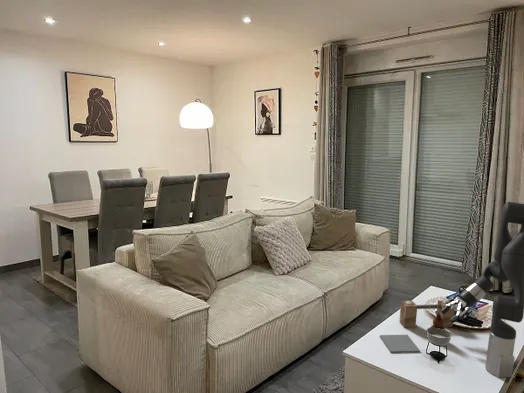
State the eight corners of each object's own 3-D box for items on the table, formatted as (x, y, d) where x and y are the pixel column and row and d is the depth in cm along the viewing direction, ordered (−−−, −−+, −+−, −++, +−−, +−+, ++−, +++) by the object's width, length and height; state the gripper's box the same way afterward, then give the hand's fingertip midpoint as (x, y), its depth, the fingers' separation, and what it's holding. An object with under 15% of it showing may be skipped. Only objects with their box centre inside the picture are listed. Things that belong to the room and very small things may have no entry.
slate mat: (420, 352, 179) (420, 350, 179) (390, 352, 178) (390, 351, 178) (407, 336, 193) (407, 334, 193) (379, 336, 192) (379, 335, 192)
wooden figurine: (434, 344, 187) (437, 315, 184) (426, 337, 192) (429, 309, 189) (446, 342, 188) (449, 313, 186) (438, 336, 194) (441, 308, 191)
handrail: (452, 326, 203) (455, 304, 201) (404, 327, 201) (406, 305, 199) (446, 321, 209) (448, 299, 207) (399, 322, 207) (401, 299, 205)
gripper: (459, 283, 193) (434, 305, 195) (476, 296, 179) (449, 319, 181) (468, 293, 195) (443, 314, 196) (486, 306, 181) (459, 329, 182)
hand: (446, 317), depth 188 cm, fingers open, 8 cm apart
